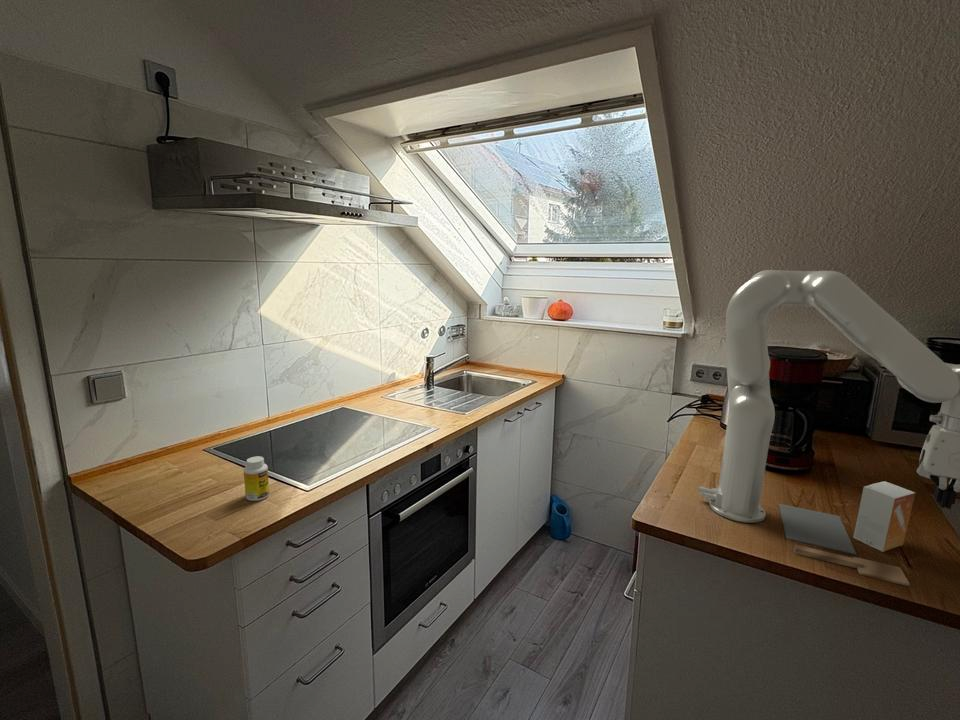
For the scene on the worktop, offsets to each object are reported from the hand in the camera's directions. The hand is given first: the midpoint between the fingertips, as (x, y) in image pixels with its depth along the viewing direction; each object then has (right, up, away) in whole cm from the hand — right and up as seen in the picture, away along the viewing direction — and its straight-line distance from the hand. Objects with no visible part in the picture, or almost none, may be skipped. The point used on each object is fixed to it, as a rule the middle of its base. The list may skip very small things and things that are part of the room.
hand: (942, 505), depth 105 cm
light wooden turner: (-22, -12, -2) cm, 25 cm away
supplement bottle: (-157, -4, +20) cm, 158 cm away
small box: (-9, -10, +6) cm, 15 cm away
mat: (-20, -9, +12) cm, 25 cm away
